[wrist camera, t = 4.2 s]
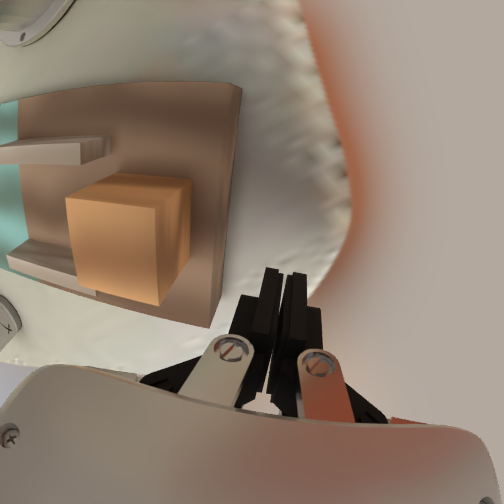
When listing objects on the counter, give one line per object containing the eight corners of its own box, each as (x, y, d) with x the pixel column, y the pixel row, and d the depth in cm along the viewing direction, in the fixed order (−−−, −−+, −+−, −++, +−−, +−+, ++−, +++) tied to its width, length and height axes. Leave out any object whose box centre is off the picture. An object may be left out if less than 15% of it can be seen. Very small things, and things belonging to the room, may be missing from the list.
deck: (-49, 123, 19) (-87, 136, 13) (242, 88, 17) (214, 77, 11) (-36, 232, 27) (-68, 254, 20) (220, 296, 24) (198, 358, 18)
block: (116, 172, 16) (65, 197, 12) (192, 179, 16) (155, 208, 12) (120, 245, 19) (78, 285, 14) (189, 258, 18) (159, 306, 14)
